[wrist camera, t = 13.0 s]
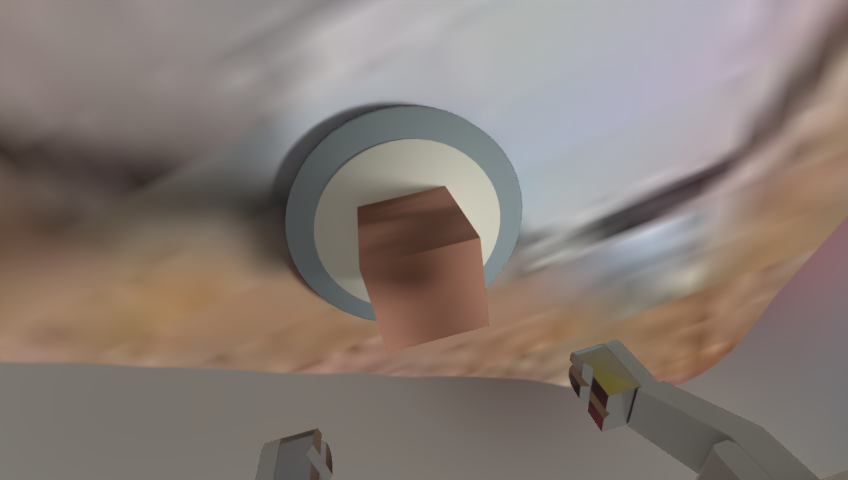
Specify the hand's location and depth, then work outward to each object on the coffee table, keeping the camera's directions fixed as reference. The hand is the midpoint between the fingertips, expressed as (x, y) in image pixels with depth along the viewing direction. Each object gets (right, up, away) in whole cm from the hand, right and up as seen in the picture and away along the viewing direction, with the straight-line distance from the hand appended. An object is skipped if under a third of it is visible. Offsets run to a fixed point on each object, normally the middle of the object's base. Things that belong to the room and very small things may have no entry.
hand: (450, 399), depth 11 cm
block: (-2, +5, +9) cm, 11 cm away
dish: (-2, +6, +10) cm, 12 cm away
